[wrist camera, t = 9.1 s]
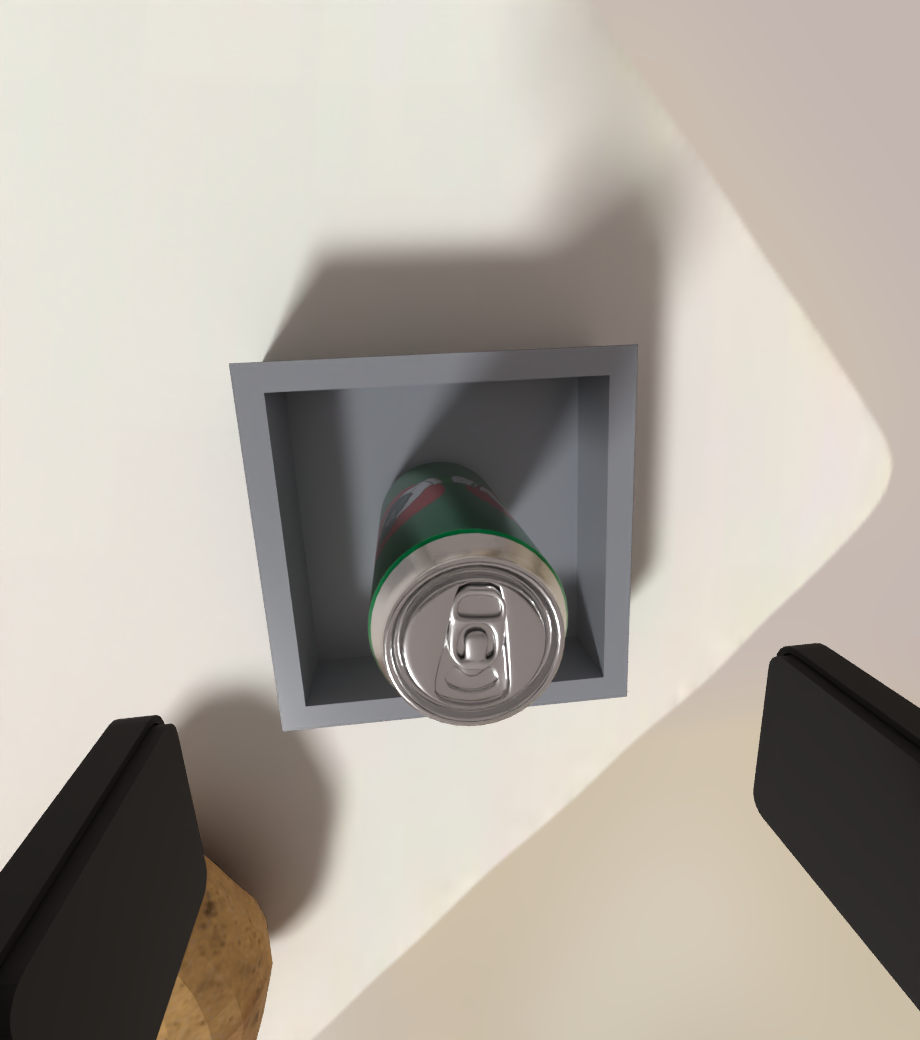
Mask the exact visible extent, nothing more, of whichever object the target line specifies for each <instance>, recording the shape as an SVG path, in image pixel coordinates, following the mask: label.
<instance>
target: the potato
mask: <svg viewBox="0 0 920 1040" xmlns="http://www.w3.org/2000/svg"><path fill="white" fill-rule="evenodd" d="M204 857H205V862H206V868H207V883H206V890H205V894H204V898H203V901H202V904H201V907H200V910H199V913H198V916H197V919H196V922H195V925H194V928H193V931H192V934H191V937H190V940H189V943H188V946H187V949H186V952H185V955H184V958H183V961H182V964H181V967H180V970H179V973H178V976H177V979H176V982H175V985H174V988H173V991H172V994H171V997H170V1000H169V1003H168V1006H167V1009H166V1012H165V1015H164V1018H163V1021H162V1024H161V1027H160V1030H159V1033H158V1036H157V1039H156V1040H256V1039H257V1035H258V1032H259V1028H260V1024H261V1020H262V1017H263V1013H264V1007H265V1002H266V997H267V991H268V986H269V981H270V975H271V969H272V963H273V962H272V956H271V949H270V942H269V936H268V929H267V922H266V918H265V916H264V914H263V913H262V911H261V909H260V907H259V905H258V903H257V901H256V900H255V899H254V898H253V897H252V896H251V895H250V894H248V893H247V892H246V891H245V890H243V889H242V888H241V887H240V886H239V885H237V884H236V883H235V882H234V881H233V880H232V879H231V878H230V877H229V876H227V875H226V874H225V873H224V872H223V871H222V870H221V869H220V868H219V867H218V866H217V865H216V864H214V863H213V862H212V861H211V860H210V859H209V858H208V857H206V856H205V855H204Z"/></svg>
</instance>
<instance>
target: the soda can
mask: <svg viewBox="0 0 920 1040" xmlns="http://www.w3.org/2000/svg"><path fill="white" fill-rule="evenodd" d="M567 627H568V609H567V601H566V596H565V593H564V590H563V587H562V584H561V582H560V580H559V578H558V576H557V574H556V572H555V571H554V569H553V568H552V567H551V565H550V564H549V563H548V561H547V560H546V559H545V557H544V556H543V555H542V554H541V552H540V551H539V550H538V548H537V547H536V546H535V545H534V543H533V542H532V541H531V539H530V538H529V537H528V536H527V534H526V533H525V532H524V530H523V529H522V528H521V527H520V525H519V524H518V523H517V522H516V520H515V519H514V518H513V516H512V515H511V514H510V513H509V511H508V510H507V509H506V507H505V506H504V505H503V504H502V502H501V501H500V500H499V498H498V497H497V496H496V495H495V493H494V492H493V491H492V489H491V488H490V487H489V486H488V484H487V483H486V482H485V481H484V480H483V479H482V478H481V477H480V476H479V475H478V474H476V473H475V472H474V471H472V470H471V469H468V468H466V467H464V466H462V465H459V464H455V463H450V462H431V463H426V464H422V465H420V466H417V467H415V468H413V469H411V470H409V471H407V472H406V473H405V474H403V475H402V476H401V477H399V478H398V479H397V480H396V482H395V483H394V484H393V485H392V486H391V488H390V489H389V491H388V492H387V494H386V496H385V499H384V501H383V504H382V508H381V513H380V522H379V531H378V539H377V548H376V556H375V565H374V573H373V582H372V591H371V599H370V608H369V617H368V637H369V643H370V647H371V651H372V654H373V657H374V659H375V661H376V664H377V666H378V668H379V669H380V671H381V672H382V674H383V675H384V677H385V678H386V680H387V681H388V682H389V683H390V684H391V685H392V686H393V687H394V688H395V689H396V690H397V692H398V694H399V695H400V696H401V697H402V698H403V699H404V700H405V701H406V702H407V703H408V704H409V705H410V706H412V707H413V708H414V709H415V710H417V711H418V712H420V713H422V714H424V715H425V716H427V717H429V718H431V719H434V720H437V721H440V722H442V723H447V724H452V725H460V726H476V725H485V724H490V723H494V722H498V721H501V720H503V719H506V718H509V717H511V716H513V715H515V714H517V713H518V712H520V711H522V710H523V709H525V708H526V707H528V706H529V705H530V704H532V703H533V702H534V701H535V700H536V699H537V698H538V697H539V696H540V695H541V694H542V693H543V692H544V691H545V690H546V688H547V687H548V686H549V684H550V683H551V682H552V680H553V678H554V676H555V674H556V673H557V671H558V668H559V665H560V663H561V660H562V656H563V651H564V645H565V637H566V632H567Z"/></svg>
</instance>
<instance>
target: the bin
mask: <svg viewBox="0 0 920 1040" xmlns="http://www.w3.org/2000/svg"><path fill="white" fill-rule="evenodd" d="M637 357H638V344H636V345H614V346H593V347H571V348H550V349H529V350H507V351H486V352H465V353H443V354H422V355H401V356H379V357H358V358H336V359H315V360H294V361H272V362H251V363H230V364H229V368H230V374H231V381H232V388H233V395H234V402H235V409H236V416H237V422H238V429H239V436H240V443H241V450H242V457H243V463H244V470H245V477H246V484H247V491H248V498H249V504H250V511H251V518H252V525H253V532H254V539H255V546H256V552H257V559H258V566H259V573H260V580H261V587H262V593H263V600H264V607H265V614H266V621H267V628H268V634H269V641H270V648H271V655H272V662H273V669H274V676H275V682H276V689H277V696H278V703H279V710H280V717H281V723H282V730H283V731H293V730H303V729H313V728H322V727H332V726H342V725H352V724H362V723H371V722H381V721H391V720H401V719H411V718H420V717H427V716H425V715H424V714H422V713H420V712H418V711H417V710H415V709H414V708H413V707H412V706H410V705H409V704H408V703H407V702H406V701H405V700H404V699H403V698H402V697H401V696H400V695H399V694H398V692H397V690H396V689H395V688H394V687H393V686H392V685H391V684H390V683H389V682H388V681H387V680H386V678H385V677H384V675H383V674H382V672H381V671H380V669H379V668H378V666H377V664H376V661H375V659H374V657H373V654H372V651H371V647H370V643H369V637H368V617H369V608H370V599H371V591H372V582H373V573H374V565H375V556H376V548H377V539H378V531H379V522H380V513H381V508H382V504H383V501H384V499H385V496H386V494H387V492H388V491H389V489H390V488H391V486H392V485H393V484H394V483H395V482H396V480H397V479H398V478H399V477H401V476H402V475H403V474H405V473H406V472H407V471H409V470H411V469H413V468H415V467H417V466H420V465H422V464H426V463H431V462H450V463H455V464H459V465H462V466H464V467H466V468H468V469H471V470H472V471H474V472H475V473H476V474H478V475H479V476H480V477H481V478H482V479H483V480H484V481H485V482H486V483H487V484H488V486H489V487H490V488H491V489H492V491H493V492H494V493H495V495H496V496H497V497H498V498H499V500H500V501H501V502H502V504H503V505H504V506H505V507H506V509H507V510H508V511H509V513H510V514H511V515H512V516H513V518H514V519H515V520H516V522H517V523H518V524H519V525H520V527H521V528H522V529H523V530H524V532H525V533H526V534H527V536H528V537H529V538H530V539H531V541H532V542H533V543H534V545H535V546H536V547H537V548H538V550H539V551H540V552H541V554H542V555H543V556H544V557H545V559H546V560H547V561H548V563H549V564H550V565H551V567H552V568H553V569H554V571H555V572H556V574H557V576H558V578H559V580H560V582H561V584H562V587H563V590H564V593H565V596H566V601H567V609H568V627H567V632H566V637H565V645H564V651H563V656H562V660H561V663H560V665H559V668H558V671H557V673H556V674H555V676H554V678H553V680H552V682H551V683H550V684H549V686H548V687H547V688H546V690H545V691H544V692H543V693H542V694H541V695H540V696H539V697H538V698H537V699H536V700H535V701H534V702H533V703H532V704H530V705H529V706H538V705H548V704H558V703H568V702H577V701H587V700H597V699H607V698H617V697H626V696H627V675H628V643H629V611H630V580H631V548H632V516H633V484H634V452H635V421H636V389H637Z"/></svg>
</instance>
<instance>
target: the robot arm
mask: <svg viewBox="0 0 920 1040" xmlns="http://www.w3.org/2000/svg"><path fill="white" fill-rule="evenodd" d="M753 791H754V792H753V794H754V801H755V803H756V807H757V809H758V811H759V813H760V814H761V816H762V817H763V819H764V820H765V821H766V822H767V823H768V825H769V826H770V827H771V828H772V830H773V831H774V832H775V833H776V835H777V836H778V837H779V838H780V839H781V841H782V842H783V843H784V844H785V846H786V847H787V848H788V849H789V851H790V852H791V853H792V854H793V856H794V857H795V858H796V859H797V860H798V862H799V863H800V864H801V865H802V867H803V868H804V869H805V870H806V872H807V873H808V874H809V875H810V876H811V878H812V879H813V880H814V881H815V883H816V884H817V885H818V886H819V888H821V890H822V891H823V892H824V894H825V895H826V896H827V897H828V898H829V900H830V901H831V902H832V903H833V905H834V906H835V907H836V908H837V910H838V911H839V912H840V913H841V915H842V916H843V917H844V918H845V919H846V921H847V922H848V923H849V924H850V926H851V927H852V928H853V929H854V930H855V932H856V933H857V934H858V935H859V936H860V938H861V939H862V940H863V942H864V943H865V944H866V945H867V946H868V948H869V949H870V950H871V951H872V953H873V954H874V955H875V956H876V958H877V959H878V960H879V961H880V963H881V964H882V965H883V966H884V967H885V969H886V970H887V971H888V972H889V974H890V975H891V976H892V977H893V979H894V980H895V981H896V982H897V983H898V985H899V986H900V987H901V988H902V990H903V991H904V992H905V993H906V995H907V996H908V997H909V998H910V999H911V1001H912V1002H913V1003H914V1004H915V1006H916V1007H917V1008H918V1009H919V1011H920V708H919V707H917V706H916V705H914V704H913V703H911V702H909V701H908V700H907V699H905V698H904V697H902V696H900V695H899V694H898V693H896V692H895V691H893V690H891V689H890V688H888V687H887V686H885V685H884V684H882V683H881V682H879V681H878V680H876V679H875V678H874V677H872V676H870V675H869V674H868V673H866V672H864V671H863V670H861V669H860V668H858V667H857V666H855V665H854V664H852V663H851V662H849V661H848V660H846V659H845V658H843V657H842V656H840V655H839V654H837V653H836V652H834V651H833V650H831V649H830V648H828V647H827V646H825V645H822V644H820V643H813V644H804V645H794V646H785V647H783V648H781V649H780V650H779V652H778V653H777V657H774V658H772V660H771V661H770V664H769V669H768V677H767V686H766V693H765V701H764V710H763V717H762V726H761V733H760V742H759V749H758V757H757V766H756V773H755V781H754V790H753ZM206 883H207V868H206V862H205V857H204V853H203V848H202V843H201V839H200V834H199V830H198V825H197V820H196V816H195V811H194V807H193V802H192V797H191V793H190V788H189V784H188V779H187V774H186V770H185V765H184V761H183V756H182V751H181V747H180V742H179V738H178V733H177V730H176V727H175V726H174V725H173V724H164V722H163V720H162V718H161V717H160V716H158V715H152V716H143V717H134V718H125V719H117V720H114V721H113V722H112V723H111V724H110V725H109V726H108V727H107V729H106V730H105V731H104V733H103V734H102V736H101V737H100V738H99V740H98V741H97V742H96V744H95V745H94V746H93V748H92V749H91V750H90V752H89V753H88V754H87V756H86V757H85V759H84V760H83V761H82V763H81V764H80V765H79V767H78V768H77V769H76V771H75V772H74V773H73V775H72V776H71V777H70V779H69V780H68V781H67V783H66V784H65V786H64V787H63V788H62V790H61V791H60V792H59V794H58V795H57V796H56V798H55V799H54V800H53V802H52V803H51V804H50V806H49V807H48V809H47V810H46V811H45V813H44V814H43V815H42V817H41V818H40V819H39V821H38V822H37V823H36V825H35V826H34V827H33V829H32V830H31V832H30V833H29V834H28V836H27V837H26V838H25V840H24V841H23V842H22V844H21V845H20V846H19V848H18V849H17V850H16V852H15V853H14V855H13V856H12V857H11V859H10V860H9V861H8V863H7V864H6V865H5V867H4V868H3V869H2V871H1V872H0V1040H156V1039H157V1036H158V1033H159V1030H160V1027H161V1024H162V1021H163V1018H164V1015H165V1012H166V1009H167V1006H168V1003H169V1000H170V997H171V994H172V991H173V988H174V985H175V982H176V979H177V976H178V973H179V970H180V967H181V964H182V961H183V958H184V955H185V952H186V949H187V946H188V943H189V940H190V937H191V934H192V931H193V928H194V925H195V922H196V919H197V916H198V913H199V910H200V907H201V904H202V901H203V898H204V894H205V890H206Z"/></svg>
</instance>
